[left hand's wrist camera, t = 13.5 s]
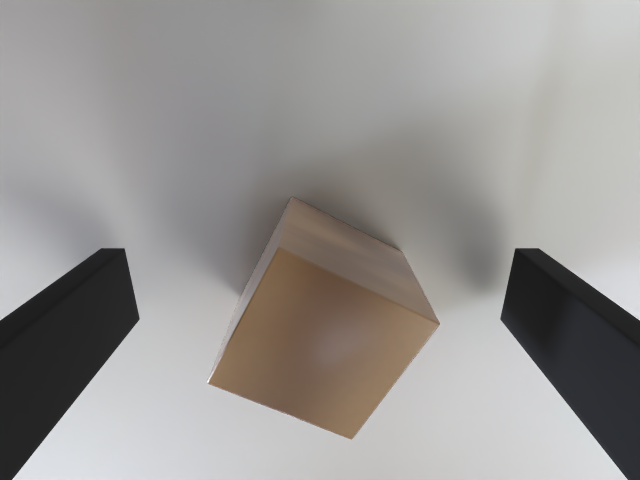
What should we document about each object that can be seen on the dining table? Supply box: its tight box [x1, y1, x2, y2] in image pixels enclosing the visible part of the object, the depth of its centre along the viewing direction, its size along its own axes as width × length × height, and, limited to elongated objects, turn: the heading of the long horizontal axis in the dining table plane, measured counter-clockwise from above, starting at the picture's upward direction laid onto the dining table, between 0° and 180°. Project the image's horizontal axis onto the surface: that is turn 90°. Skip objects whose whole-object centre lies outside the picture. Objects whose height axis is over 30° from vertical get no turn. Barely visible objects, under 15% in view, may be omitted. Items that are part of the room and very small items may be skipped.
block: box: [207, 197, 440, 439], centre depth 11 cm, size 4×4×4 cm
